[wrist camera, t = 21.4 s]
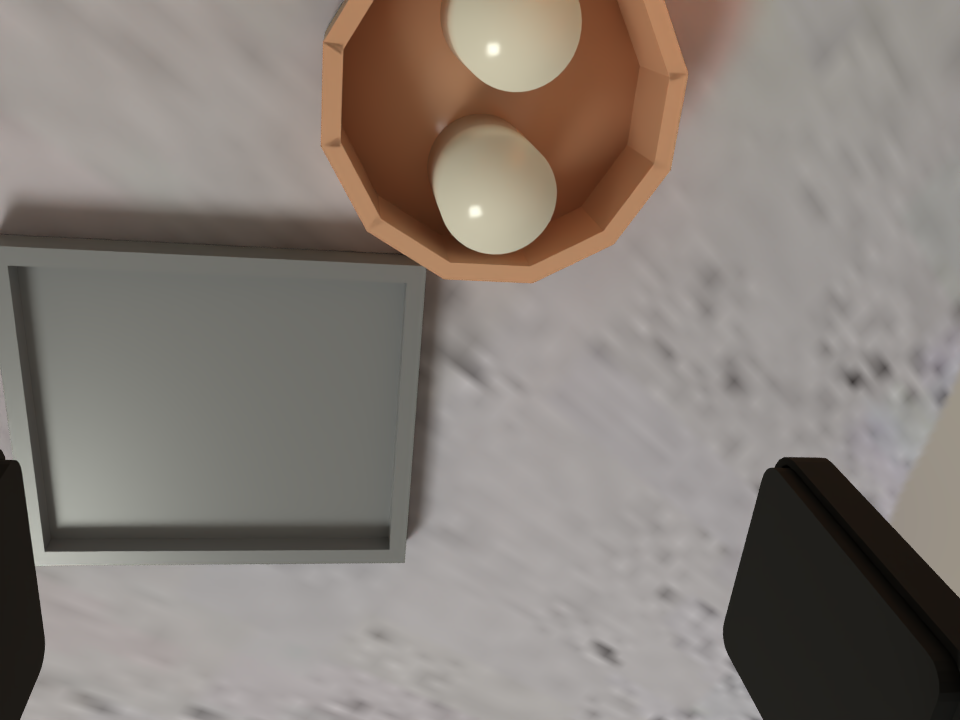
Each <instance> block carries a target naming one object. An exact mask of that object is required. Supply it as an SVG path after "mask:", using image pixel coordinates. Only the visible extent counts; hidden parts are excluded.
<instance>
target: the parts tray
mask: <svg viewBox="0 0 960 720" xmlns="http://www.w3.org/2000/svg"><path fill="white" fill-rule="evenodd" d="M425 282H426V268H425V267H424V266H422V265H420V264H419V263H417V262H415V261H414V260H412V259H411V258H409V257H407V256H406V255H404V254H388V253H367V252H347V251H327V250H306V249H286V248H265V247H245V246H225V245H204V244H184V243H164V242H143V241H123V240H102V239H82V238H62V237H41V236H21V235H0V369H1V376H2V383H3V390H4V397H5V404H6V412H7V419H8V426H9V433H10V440H11V447H12V454H13V460H17V461H18V462H19V464H20V466H21V469H22V475H23V482H24V489H25V497H26V504H27V511H28V519H29V526H30V533H31V541H32V548H33V555H34V563H35V566H82V565H204V564H326V563H405V551H406V538H407V524H408V511H409V497H410V484H411V470H412V457H413V443H414V430H415V416H416V403H417V389H418V376H419V362H420V349H421V336H422V322H423V309H424V295H425Z"/></svg>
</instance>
